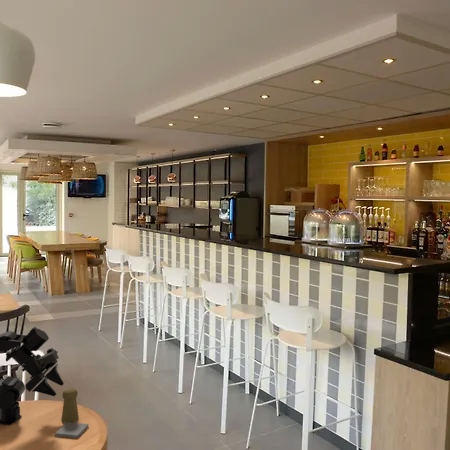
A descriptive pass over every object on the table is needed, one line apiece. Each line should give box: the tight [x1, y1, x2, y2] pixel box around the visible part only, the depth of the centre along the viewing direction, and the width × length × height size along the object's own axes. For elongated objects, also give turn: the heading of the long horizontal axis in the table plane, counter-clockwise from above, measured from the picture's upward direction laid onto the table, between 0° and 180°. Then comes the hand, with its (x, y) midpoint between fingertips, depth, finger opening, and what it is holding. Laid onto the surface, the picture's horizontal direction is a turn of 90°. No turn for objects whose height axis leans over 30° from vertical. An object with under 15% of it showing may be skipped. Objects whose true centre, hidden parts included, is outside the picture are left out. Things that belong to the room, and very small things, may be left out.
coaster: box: [54, 422, 89, 439], centre depth 156 cm, size 8×8×1 cm
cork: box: [61, 387, 80, 424], centre depth 165 cm, size 6×6×11 cm
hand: (59, 389), depth 164 cm, fingers open, 9 cm apart
